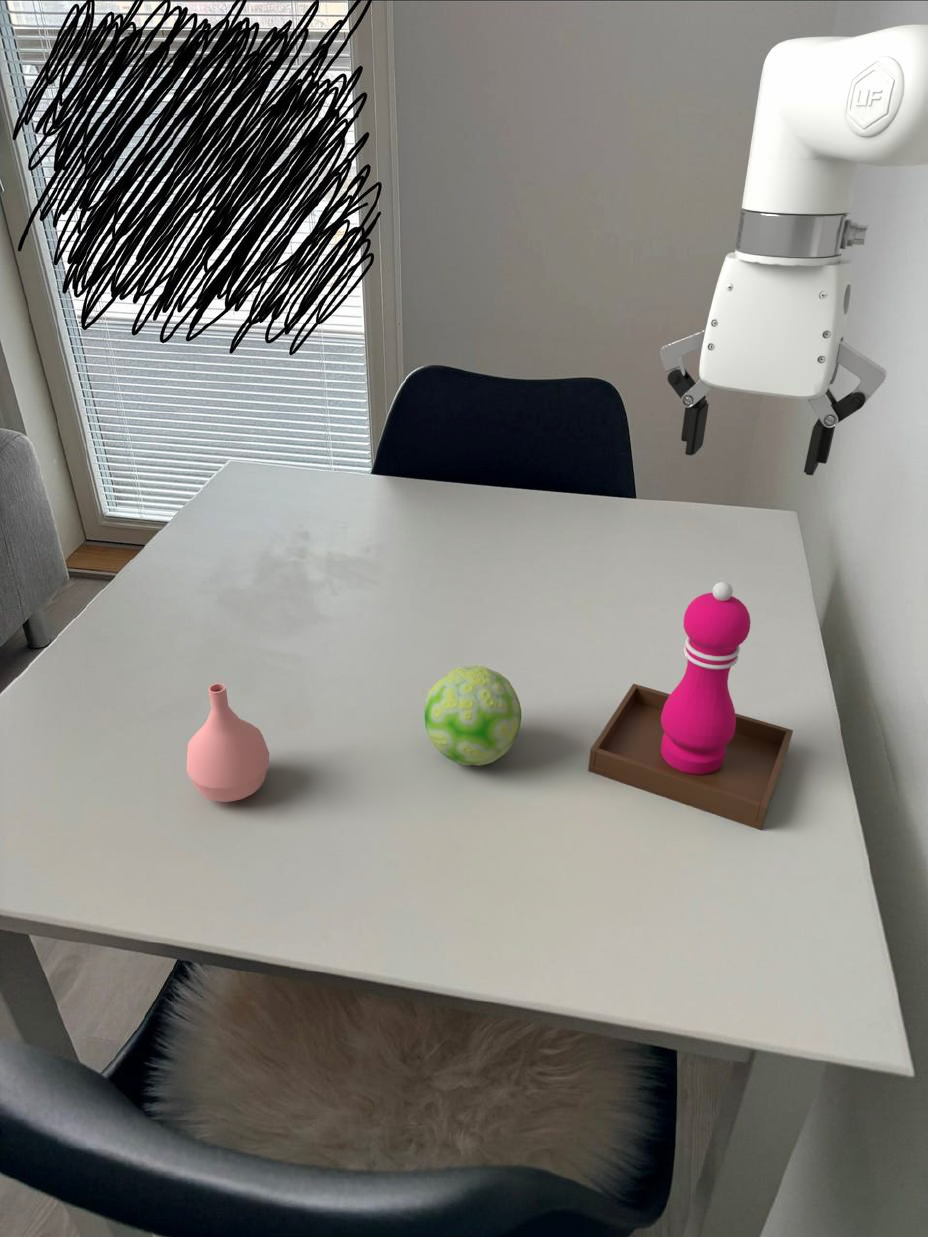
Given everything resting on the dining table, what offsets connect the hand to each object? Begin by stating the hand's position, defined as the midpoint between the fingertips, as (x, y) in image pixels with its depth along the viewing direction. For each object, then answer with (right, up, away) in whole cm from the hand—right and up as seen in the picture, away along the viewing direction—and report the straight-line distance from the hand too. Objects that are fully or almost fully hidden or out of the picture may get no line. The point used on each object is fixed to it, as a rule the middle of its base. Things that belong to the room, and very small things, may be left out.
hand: (750, 460), depth 73 cm
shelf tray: (-1, -28, +17) cm, 33 cm away
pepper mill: (-1, -27, +16) cm, 32 cm away
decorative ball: (-23, -27, +17) cm, 40 cm away
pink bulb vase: (-46, -30, +12) cm, 57 cm away
